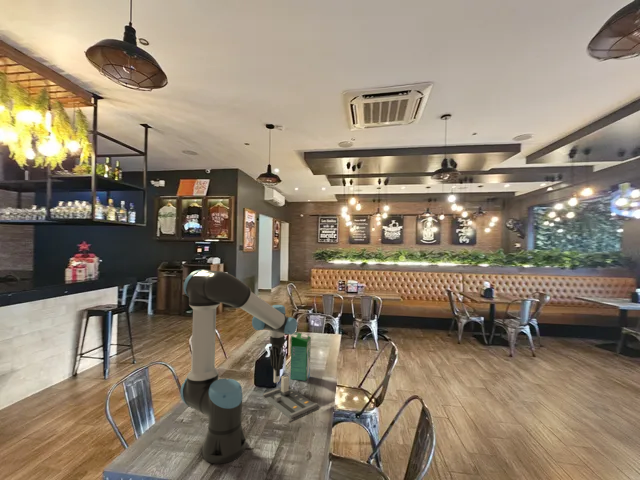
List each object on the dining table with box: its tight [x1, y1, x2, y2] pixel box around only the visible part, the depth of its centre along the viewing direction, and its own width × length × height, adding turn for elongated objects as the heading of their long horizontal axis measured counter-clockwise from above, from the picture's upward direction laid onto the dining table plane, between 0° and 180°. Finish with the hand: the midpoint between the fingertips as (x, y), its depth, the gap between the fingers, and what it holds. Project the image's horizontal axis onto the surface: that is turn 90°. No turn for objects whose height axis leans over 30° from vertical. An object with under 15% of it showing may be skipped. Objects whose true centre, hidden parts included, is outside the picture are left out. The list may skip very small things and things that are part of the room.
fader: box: [279, 374, 291, 396], centre depth 146 cm, size 4×5×8 cm
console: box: [261, 384, 320, 423], centre depth 139 cm, size 16×24×4 cm, turn 41°
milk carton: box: [289, 331, 312, 382], centre depth 166 cm, size 9×9×25 cm
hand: (276, 381), depth 152 cm, fingers closed
